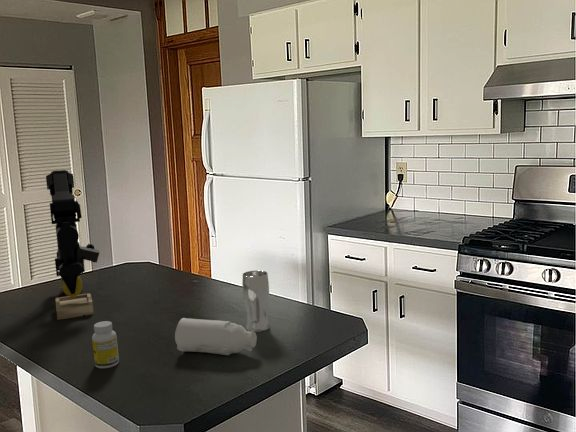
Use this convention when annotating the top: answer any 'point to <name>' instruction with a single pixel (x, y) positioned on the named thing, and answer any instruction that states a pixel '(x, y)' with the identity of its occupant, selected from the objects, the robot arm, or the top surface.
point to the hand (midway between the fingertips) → (72, 291)
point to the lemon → (78, 288)
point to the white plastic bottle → (213, 336)
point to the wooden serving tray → (74, 306)
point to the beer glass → (256, 299)
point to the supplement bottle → (105, 345)
